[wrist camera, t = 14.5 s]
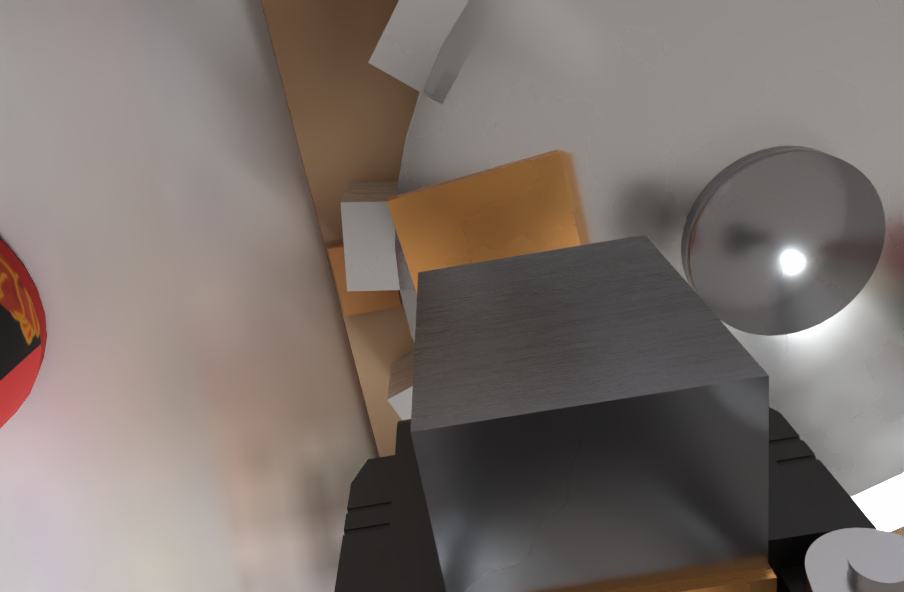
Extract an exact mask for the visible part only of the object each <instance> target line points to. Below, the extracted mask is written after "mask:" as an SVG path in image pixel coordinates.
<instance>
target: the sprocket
mask: <svg viewBox="0 0 904 592" xmlns="http://www.w3.org/2000/svg"><path fill="white" fill-rule="evenodd" d="M368 63H370V64H371V65H373V66H375V67H377V68H378V69H380V70H382V71H384V72H386V73H387V74H389V75H391V76H393V77H394V78H396V79H398V80H400V81H401V82H403V83H405V84H407V85H408V86H410V87H412V88H414V89H416V90H417V91H418V94H417V98H416V101H415V104H414V108H413V111H412V115H411V118H410V121H409V125H408V128H407V131H406V137H405V144H404V150H403V156H402V163H401V169H400V175H399V181H356V182H349V183H348V186H347V188H346V191H345V193H344V195H343V198H342V200H341V216H342V229H343V242H344V255H345V269H346V282H347V291H380V290H400V294H401V298H402V301H403V305H404V309H405V313H406V317H407V321H408V324H409V328H410V332H411V336H412V338H413V340H414V343H415V327H416V306H417V285H418V272H424V271H430V270H436V269H442V268H448V267H454V266H460V265H466V264H472V263H478V262H484V261H490V260H496V259H502V258H508V257H514V256H520V255H526V254H532V253H538V252H544V251H550V250H556V249H562V248H568V247H574V246H580V245H586V244H592V243H598V242H604V241H610V240H616V239H622V238H628V237H634V236H640V235H646V236H647V237H648V238H649V240H650V241H651V242H652V243H653V244H654V245H655V246H656V248H657V249H658V250H659V251H660V252H661V253H662V254H663V256H664V257H665V258H666V259H667V260H668V261H669V262H670V264H671V265H672V266H673V267H674V268H675V269H676V270H677V271H678V273H679V274H680V275H681V276H682V277H683V278H684V279H685V281H686V282H687V283H688V284H689V285H690V286H691V287H692V289H693V290H694V291H695V292H696V293H697V294H698V295H699V297H700V298H701V299H702V300H703V301H704V302H705V303H706V304H707V306H708V307H709V308H710V309H711V310H712V311H713V312H714V314H715V315H716V316H717V317H718V318H719V319H720V320H721V322H722V323H723V324H724V325H725V326H726V327H727V328H728V330H729V331H730V332H731V333H732V334H733V335H734V336H735V337H736V339H737V340H738V341H739V342H740V343H741V344H742V345H743V347H744V348H745V349H746V350H747V351H748V352H749V353H750V355H751V356H752V357H753V358H754V359H755V360H756V361H757V363H758V364H759V365H760V366H761V367H762V368H763V369H764V370H765V372H766V373H767V374H768V375H769V407H770V408H772V409H774V410H776V411H778V412H779V413H781V414H782V415H783V417H784V418H785V419H786V420H787V421H788V422H789V424H790V425H791V426H792V427H793V428H794V430H795V431H796V432H797V433H798V434H799V436H800V440H804V442H805V443H806V444H807V445H808V446H809V448H810V449H811V450H812V451H813V452H814V454H815V457H816V459H817V460H818V459H819V460H820V461H821V462H822V463H823V464H824V466H825V467H826V468H827V469H828V470H829V472H830V473H831V474H832V475H833V476H834V478H835V479H836V480H837V481H838V482H839V484H840V485H841V486H842V487H843V488H844V490H845V491H846V492H847V493H848V494H849V496H850V497H851V498H852V499H853V500H854V502H855V503H856V504H857V505H858V506H859V508H860V509H861V510H862V511H863V512H864V514H865V515H866V516H867V517H868V518H869V520H870V521H871V522H872V523H873V524H874V526H875V527H876V528H877V529H878V530H883V531H888V532H890V531H893V530H895V529H897V528H899V527H902V526H904V0H399V1H398V3H397V5H396V7H395V9H394V11H393V13H392V15H391V18H390V20H389V22H388V24H387V26H386V28H385V30H384V32H383V34H382V36H381V38H380V40H379V42H378V44H377V46H376V48H375V50H374V52H373V54H372V56H371V58H370V60H369V62H368ZM413 370H414V351H412V352H410V353H408V354H407V355H405V356H403V357H401V358H399V359H398V360H396V361H394V362H392V363H391V367H390V377H389V387H388V397H387V400H388V402H389V403H390V404H391V406H392V407H393V408H394V410H395V411H396V412H397V414H398V415H399V417H400V418H401V419H402V420H407V419H411V412H412V391H413Z"/></svg>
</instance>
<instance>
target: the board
mask: <svg viewBox="0 0 904 592" xmlns="http://www.w3.org/2000/svg"><path fill="white" fill-rule="evenodd" d="M398 1H399V0H261V3H262V7H263V11H264V15H265V19H266V23H267V26H268V30H269V34H270V38H271V42H272V46H273V50H274V53H275V57H276V61H277V65H278V69H279V73H280V76H281V80H282V84H283V88H284V92H285V96H286V100H287V103H288V107H289V111H290V115H291V119H292V123H293V126H294V130H295V134H296V138H297V142H298V146H299V150H300V153H301V157H302V161H303V165H304V169H305V173H306V176H307V180H308V184H309V188H310V192H311V196H312V200H313V203H314V207H315V211H316V215H317V219H318V223H319V226H320V230H321V234H322V238H323V242H324V246H325V250H326V253H327V257H328V261H329V265H330V269H331V273H332V276H333V280H334V284H335V288H336V292H337V296H338V300H339V303H340V307H341V311H342V315H343V319H344V323H345V326H346V330H347V334H348V338H349V342H350V346H351V350H352V353H353V357H354V361H355V365H356V369H357V373H358V376H359V380H360V384H361V388H362V392H363V396H364V400H365V403H366V407H367V411H368V415H369V419H370V423H371V426H372V430H373V434H374V438H375V442H376V446H377V450H378V453H379V457H385V456H391V455H395V446H396V432H397V423H398V421H401V420H402V419H401V418H400V417H399V415H398V414H397V412H396V411H395V410H394V408H393V407H392V406H391V404H390V403H389V402H388V400H387V397H388V387H389V377H390V367H391V363H392V362H394V361H396V360H398V359H399V358H401V357H403V356H405V355H407V354H408V353H410V352H412V351H414V349H415V343H414V340H413V338H412V336H411V332H410V328H409V324H408V321H407V317H406V313H405V309H404V305H403V301H402V298H401V294H400V290H380V291H347V282H346V269H345V255H344V242H343V229H342V216H341V200H342V198H343V195H344V193H345V191H346V188H347V186H348V183H349V182H356V181H399V175H400V169H401V163H402V156H403V150H404V144H405V137H406V131H407V128H408V125H409V121H410V118H411V115H412V111H413V108H414V104H415V101H416V98H417V94H418V91H417V90H416V89H414V88H412V87H410V86H408V85H407V84H405V83H403V82H401V81H400V80H398V79H396V78H394V77H393V76H391V75H389V74H387V73H386V72H384V71H382V70H380V69H378V68H377V67H375V66H373V65H371V64H370V63H368V62H369V60H370V58H371V56H372V54H373V52H374V50H375V48H376V46H377V44H378V42H379V40H380V38H381V36H382V34H383V32H384V30H385V28H386V26H387V24H388V22H389V20H390V18H391V15H392V13H393V11H394V9H395V7H396V5H397V3H398Z"/></svg>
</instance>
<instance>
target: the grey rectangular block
mask: <svg viewBox="0 0 904 592" xmlns="http://www.w3.org/2000/svg"><path fill="white" fill-rule="evenodd" d="M411 436H412V441H413V445H414V450H415V454H416V459H417V463H418V467H419V472H420V476H421V481H422V485H423V490H424V494H425V499H426V503H427V507H428V512H429V516H430V521H431V525H432V530H433V534H434V539H435V543H436V547H437V552H438V556H439V561H440V565H441V570H442V574H443V579H444V583H445V588H446V592H777V577H776V575H775V574H774V572H773V570H772V569H771V567H770V565H769V564H768V488H769V375H768V374H767V373H766V372H765V370H764V369H763V368H762V367H761V366H760V365H759V364H758V363H757V361H756V360H755V359H754V358H753V357H752V356H751V355H750V353H749V352H748V351H747V350H746V349H745V348H744V347H743V345H742V344H741V343H740V342H739V341H738V340H737V339H736V337H735V336H734V335H733V334H732V333H731V332H730V331H729V330H728V328H727V327H726V326H725V325H724V324H723V323H722V322H721V320H720V319H719V318H718V317H717V316H716V315H715V314H714V312H713V311H712V310H711V309H710V308H709V307H708V306H707V304H706V303H705V302H704V301H703V300H702V299H701V298H700V297H699V295H698V294H697V293H696V292H695V291H694V290H693V289H692V287H691V286H690V285H689V284H688V283H687V282H686V281H685V279H684V278H683V277H682V276H681V275H680V274H679V273H678V271H677V270H676V269H675V268H674V267H673V266H672V265H671V264H670V262H669V261H668V260H667V259H666V258H665V257H664V256H663V254H662V253H661V252H660V251H659V250H658V249H657V248H656V246H655V245H654V244H653V243H652V242H651V241H650V240H649V238H648V237H647V236H646V235H640V236H634V237H628V238H622V239H616V240H610V241H604V242H598V243H592V244H586V245H580V246H574V247H568V248H562V249H556V250H550V251H544V252H538V253H532V254H526V255H520V256H514V257H508V258H502V259H496V260H490V261H484V262H478V263H472V264H466V265H460V266H454V267H448V268H442V269H436V270H430V271H424V272H418V285H417V306H416V327H415V349H414V370H413V391H412V412H411Z"/></svg>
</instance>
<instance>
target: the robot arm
mask: <svg viewBox="0 0 904 592" xmlns="http://www.w3.org/2000/svg"><path fill="white" fill-rule="evenodd" d="M347 510H348V514H346V520H345V527H344V533H345V535H344V536H343V540H342V547H341V553H340V560H339V566H338V573H337V579H336V586H335V592H446V588H445V583H444V579H443V574H442V570H441V565H440V561H439V556H438V552H437V547H436V543H435V539H434V534H433V530H432V525H431V521H430V516H429V512H428V507H427V503H426V499H425V494H424V490H423V485H422V481H421V476H420V472H419V467H418V463H417V459H416V454H415V450H414V445H413V441H412V436H411V419H407V420H401V421H398V423H397V432H396V446H395V455H391V456H385V457H379V458H373V459H368V460H367V462H366V463H365V465H364V466H363V467H362V469H361V470H360V472H359V473H358V474H357V476H356V477H355V479H354V480H353V482H352V483H351V488H350V494H349V501H348V507H347ZM768 564H769V565H770V567H771V569H772V570H773V572H774V574H775V575H776V577H777V592H904V536H901V535H898V534H895V533H892V532H888V531H883V530H878V529H877V528H876V527H875V526H874V524H873V523H872V522H871V521H870V520H869V518H868V517H867V516H866V515H865V514H864V512H863V511H862V510H861V509H860V508H859V506H858V505H857V504H856V503H855V502H854V500H853V499H852V498H851V497H850V496H849V494H848V493H847V492H846V491H845V490H844V488H843V487H842V486H841V485H840V484H839V482H838V481H837V480H836V479H835V478H834V476H833V475H832V474H831V473H830V472H829V470H828V469H827V468H826V467H825V466H824V464H823V463H822V462H821V461H820V460H819V459H818V460H817V459H816V457H815V454H814V452H813V451H812V450H811V449H810V448H809V446H808V445H807V444H806V443H805V442H804V440H800V436H799V434H798V433H797V432H796V431H795V430H794V428H793V427H792V426H791V425H790V424H789V422H788V421H787V420H786V419H785V418H784V417H783V415H782V414H781V413H779V412H778V411H776V410H774V409H772V408H770V407H769V488H768Z"/></svg>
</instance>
